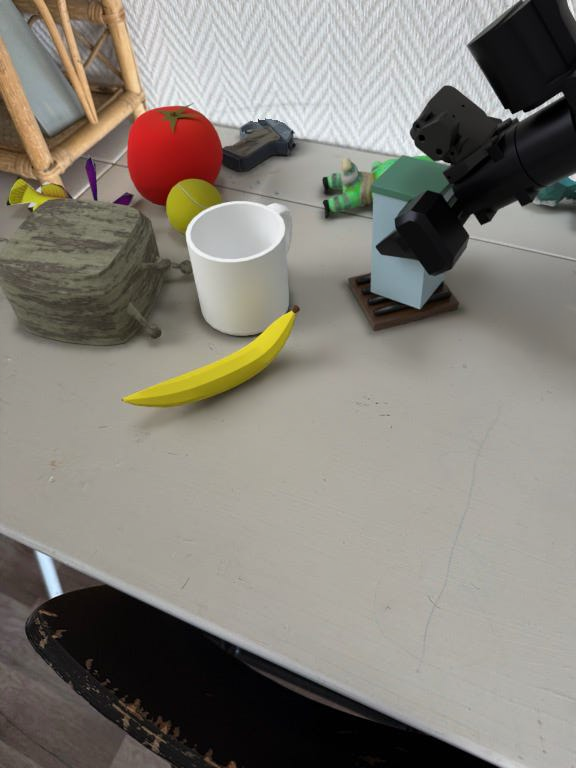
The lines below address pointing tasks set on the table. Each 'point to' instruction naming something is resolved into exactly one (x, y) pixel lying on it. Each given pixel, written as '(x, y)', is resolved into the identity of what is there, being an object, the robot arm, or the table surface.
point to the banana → (219, 370)
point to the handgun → (258, 144)
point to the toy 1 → (55, 191)
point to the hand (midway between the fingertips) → (398, 226)
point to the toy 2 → (354, 184)
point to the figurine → (556, 193)
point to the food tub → (389, 198)
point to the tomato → (171, 151)
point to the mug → (241, 264)
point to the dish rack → (398, 304)
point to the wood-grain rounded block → (84, 272)
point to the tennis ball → (190, 202)
